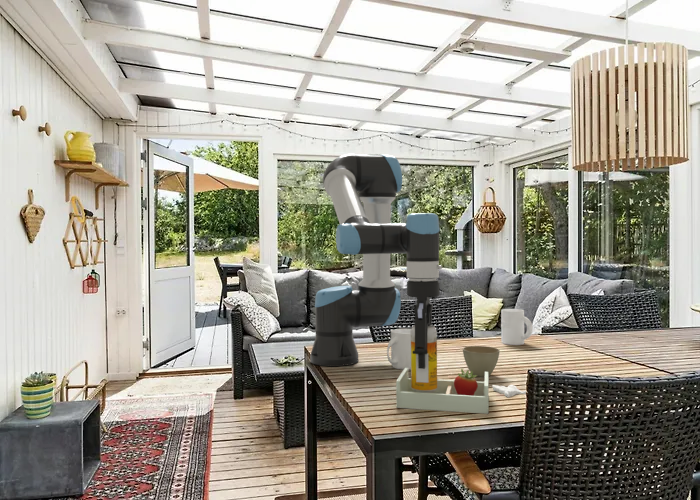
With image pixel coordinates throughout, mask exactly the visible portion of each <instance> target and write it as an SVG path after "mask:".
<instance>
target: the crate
mask: <svg viewBox="0 0 700 500" xmlns="http://www.w3.org/2000/svg"><path fill="white" fill-rule="evenodd" d="M454 380H455V379H454ZM454 380H453V379H437V389H436V390H435V392H433V393H420V392H415V391H413V389H412V388H411V377H409V370H408V368H405V369H404V370H403V369H402V371H401V373H400V374H399V376H398V378H397V379H396V381H395V382H396V385H395V389H396V390H395V391H396V392H395V393H396V395H395V397H396V399H395V400H396V401H395V402H396V405H395V406H396V408H399V409H411V410H412V409H413V410H425V411H426V410H427V411H442V412H455V413H456V412H457V413H471V414H486V415H488V414H489V398H490V397H489V376H488V372H485V377H484V381H477V384H478V387H477V390H476V391H475V393H474V396H470V395H458V394H457V392H456V389H455V387H454Z"/></svg>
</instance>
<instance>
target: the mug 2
mask: <svg viewBox="0 0 700 500" xmlns="http://www.w3.org/2000/svg"><path fill="white" fill-rule="evenodd" d="M500 313H501V314H500V317H501V318H500V319H501V322H500V324H501V325H500V328H501V330H500V331H501V344H503V345H509V346H510V345H511V346H512V345H513V346H520V345H524V344H525V340H527V339H529V338H531V336H532V334H533V332H534V331H533V330H534V326H533V323H532V321H531V320H530V319H529V318H528V317H527V316H525V310H524V309H520V308H502V309H501V311H500ZM525 325H526V332H525Z"/></svg>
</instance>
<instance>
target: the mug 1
mask: <svg viewBox="0 0 700 500" xmlns="http://www.w3.org/2000/svg"><path fill="white" fill-rule="evenodd" d="M411 329H412V328H396V329H391V331H390V340H389V342H388V343H387V348H386V354H387V361H388V362H389V363H390V364H391V367H392V368H393V369H397V370H402V371H403V370H404V369H405V368H408V371H409V370H410V371H411V333H410V331H411ZM389 352H390V355H389Z"/></svg>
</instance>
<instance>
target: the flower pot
mask: <svg viewBox="0 0 700 500" xmlns="http://www.w3.org/2000/svg"><path fill="white" fill-rule="evenodd" d="M500 352H501V351H500V349H499V348H497V347H493V346H485V345H469V346H465V347H463V348H462V355H463V357H464V361H465V364H466V366H467V370H469V373H470V372H471V371H472V372H473V373H472V374H473V376H474V375H477V376H476V377H478V378H479V377H480V378H481V377H482V378H485V372H488V377H489V376H491V375H492V373H493V372H494V370H495V368H496V366H497V363H498V361H499V360H498V359H499V357H500Z"/></svg>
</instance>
